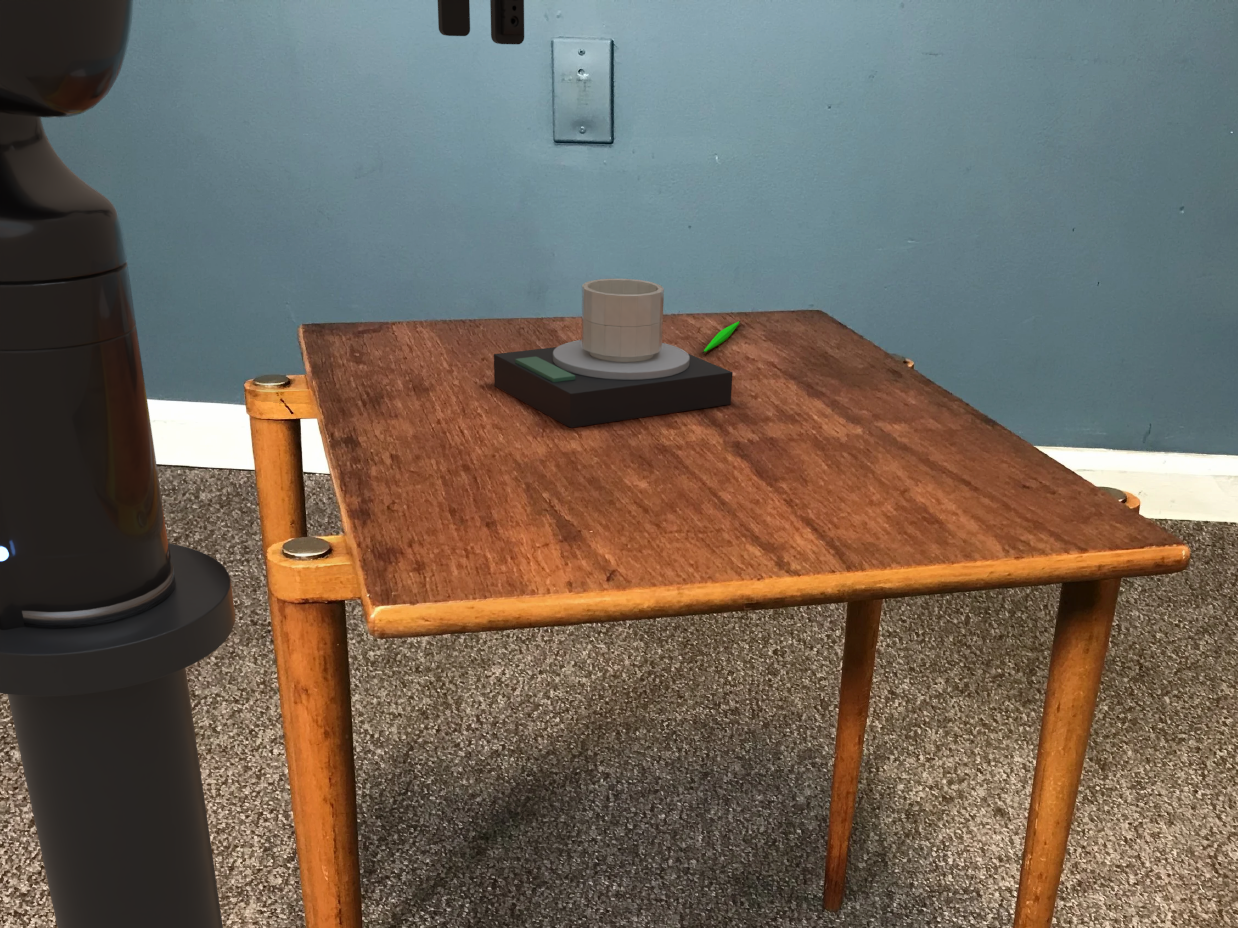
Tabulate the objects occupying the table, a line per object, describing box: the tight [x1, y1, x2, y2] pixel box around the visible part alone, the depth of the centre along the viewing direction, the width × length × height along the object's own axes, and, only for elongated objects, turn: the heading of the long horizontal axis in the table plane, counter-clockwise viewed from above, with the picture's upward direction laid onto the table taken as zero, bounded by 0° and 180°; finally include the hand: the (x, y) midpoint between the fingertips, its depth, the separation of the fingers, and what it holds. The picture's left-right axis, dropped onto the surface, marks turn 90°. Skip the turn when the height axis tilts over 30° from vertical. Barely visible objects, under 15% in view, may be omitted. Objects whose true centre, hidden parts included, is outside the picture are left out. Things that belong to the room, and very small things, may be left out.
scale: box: [493, 339, 733, 429], centre depth 103 cm, size 14×12×3 cm
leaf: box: [702, 320, 741, 354], centre depth 121 cm, size 1×14×1 cm, turn 164°
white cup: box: [581, 278, 665, 362], centre depth 102 cm, size 6×6×5 cm
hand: (480, 39), depth 96 cm, fingers open, 8 cm apart
